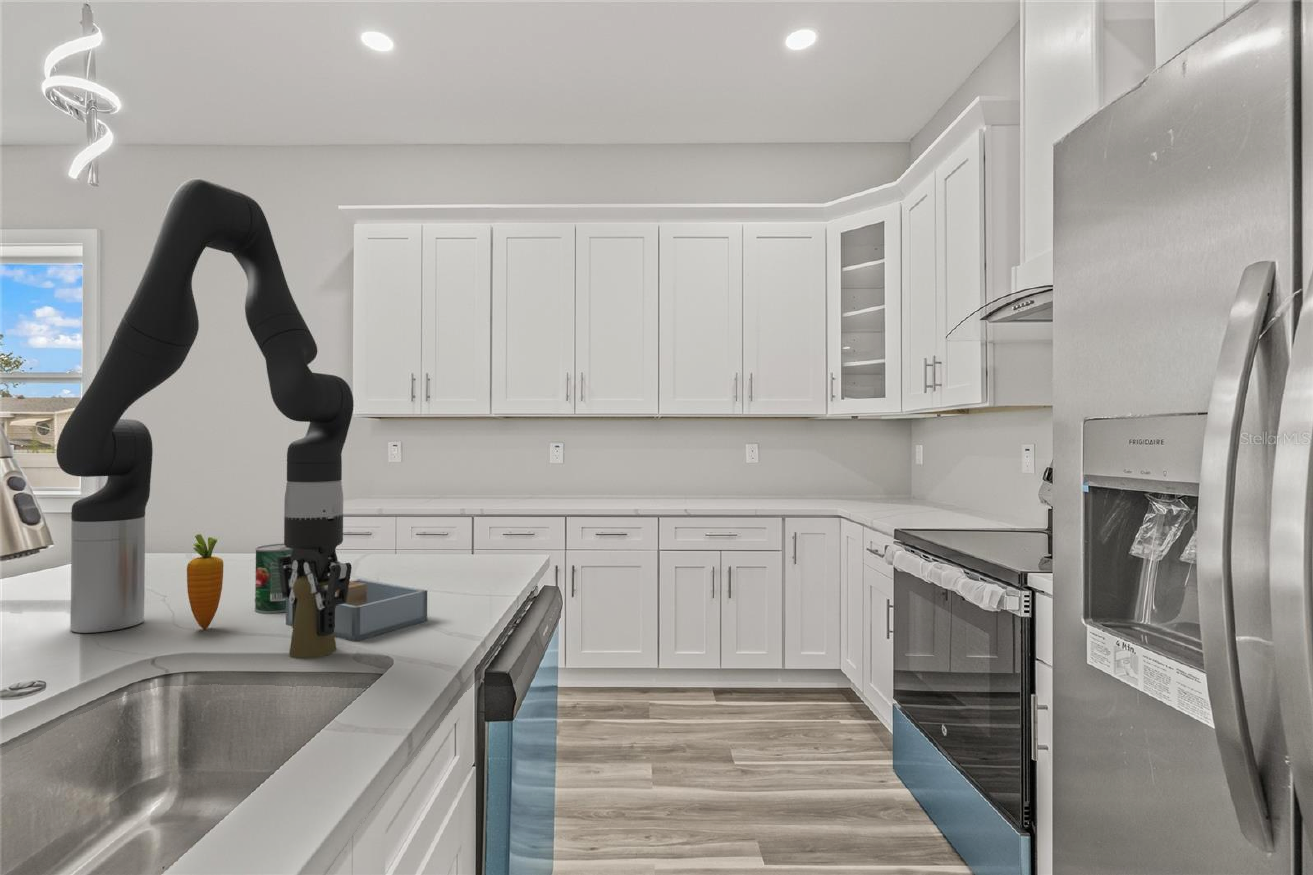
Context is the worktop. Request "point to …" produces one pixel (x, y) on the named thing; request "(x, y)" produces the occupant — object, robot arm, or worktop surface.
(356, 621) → the tote
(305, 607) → the cork
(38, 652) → the worktop surface
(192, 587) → the carrot
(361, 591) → the walnut cube
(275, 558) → the canned tomato
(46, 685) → the worktop surface
